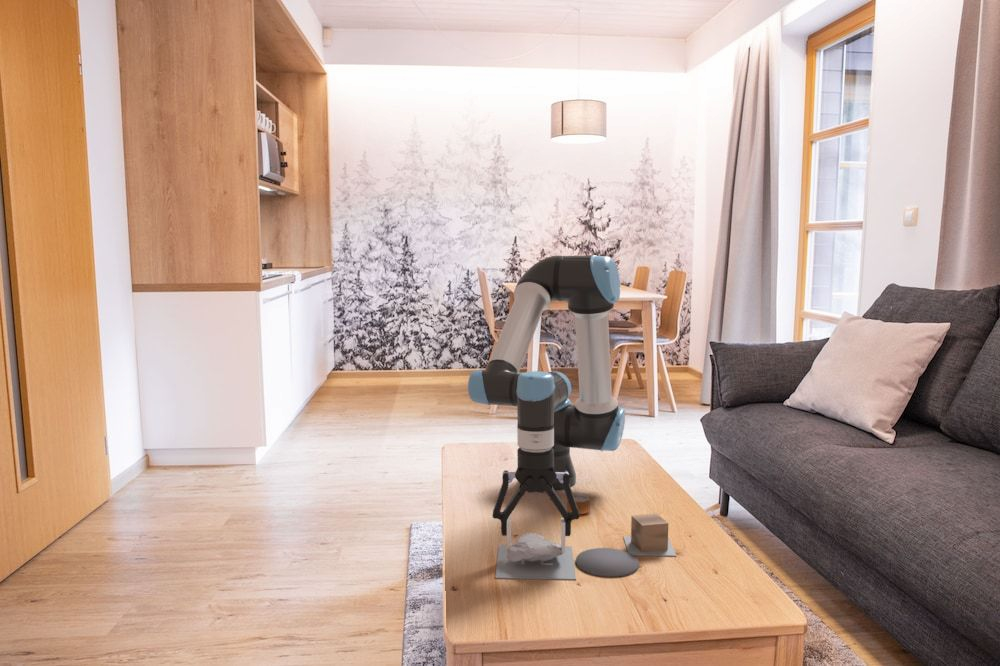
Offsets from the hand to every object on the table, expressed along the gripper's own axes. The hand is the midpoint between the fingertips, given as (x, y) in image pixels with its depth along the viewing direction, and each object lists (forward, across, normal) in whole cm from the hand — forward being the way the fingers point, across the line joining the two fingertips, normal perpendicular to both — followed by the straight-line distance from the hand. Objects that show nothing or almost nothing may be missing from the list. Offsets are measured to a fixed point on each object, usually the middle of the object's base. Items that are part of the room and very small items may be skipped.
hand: (535, 550), depth 154 cm
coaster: (+3, +15, 0) cm, 15 cm away
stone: (+1, 0, 0) cm, 1 cm away
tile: (+3, +25, +9) cm, 26 cm away
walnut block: (+2, +25, +9) cm, 26 cm away
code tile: (+2, 0, 0) cm, 3 cm away
